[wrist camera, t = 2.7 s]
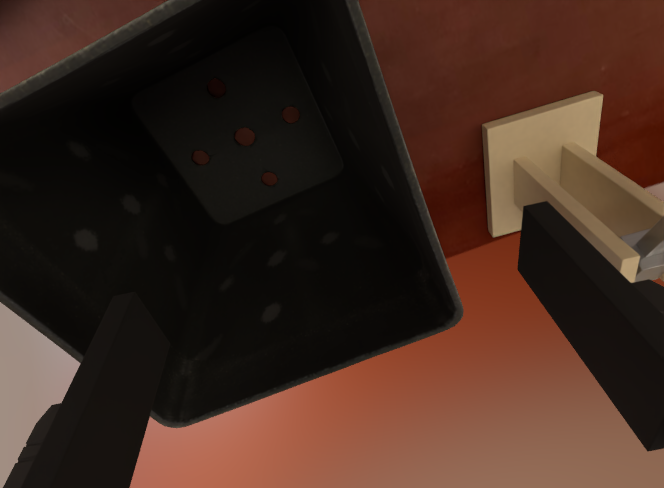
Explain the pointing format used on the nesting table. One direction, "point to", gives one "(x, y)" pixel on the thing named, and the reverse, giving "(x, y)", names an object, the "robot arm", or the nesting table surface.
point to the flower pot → (221, 200)
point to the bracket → (564, 178)
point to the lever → (648, 251)
